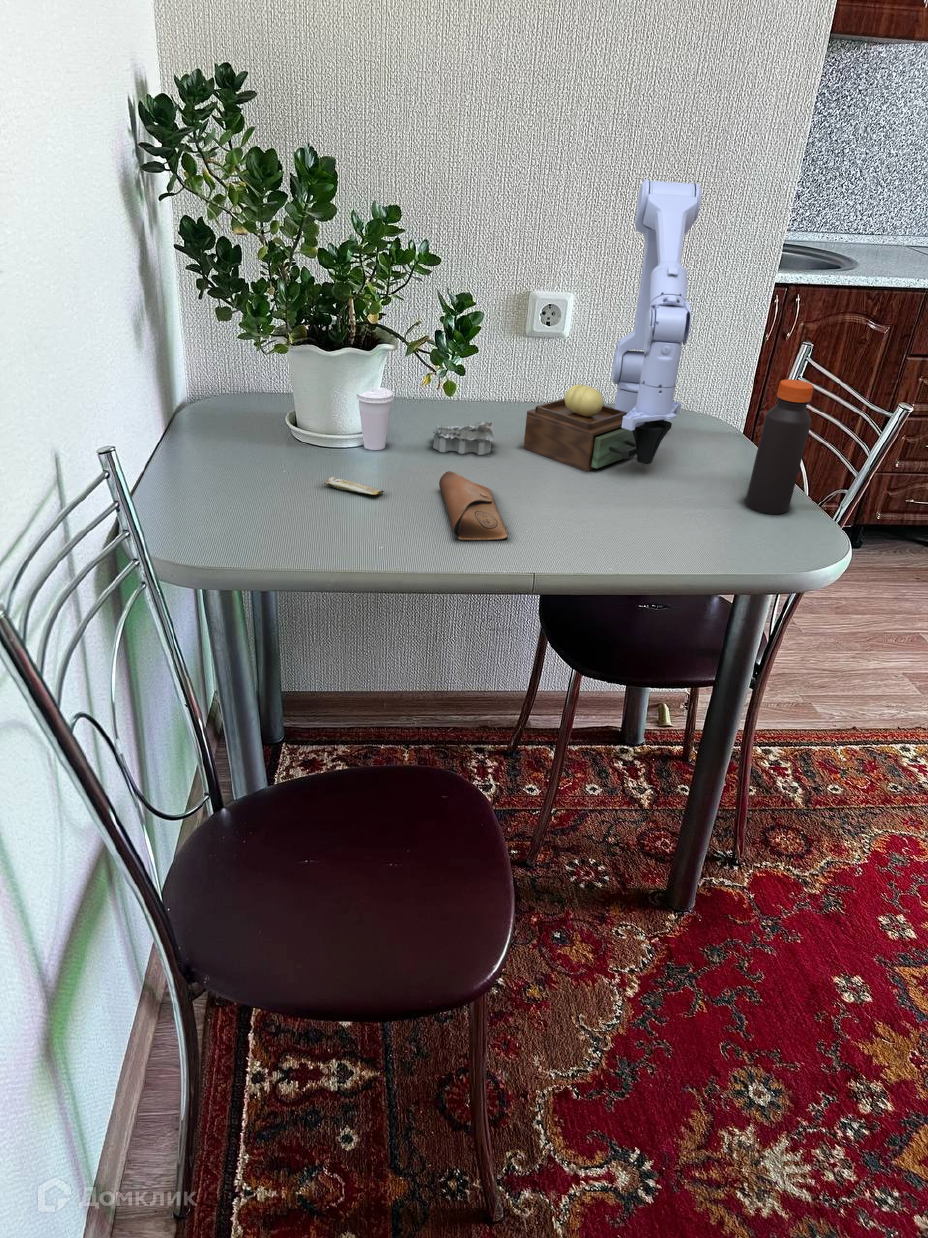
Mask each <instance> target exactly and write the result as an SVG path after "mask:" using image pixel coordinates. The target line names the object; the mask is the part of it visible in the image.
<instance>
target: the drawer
mask: <svg viewBox="0 0 928 1238" xmlns="http://www.w3.org/2000/svg"><path fill="white" fill-rule="evenodd" d="M635 456H637V453H636V444H635V438H634V435H633V432H632V431H630V430H627V429H624V428H622V427H619V428H616V429H613V430H610V431H607V432H604V433H601V434H598V435H595V436H594V441H593V448H592V456H591V461H592V465H591V467H594V468H595V469H599V468H602V467H605V466H607V465H610V464H612V463H615V462H618V461H620V460H623V459H624V460H627V459H630V458H632V457H635Z"/></svg>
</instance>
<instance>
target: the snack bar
mask: <svg viewBox="0 0 928 1238" xmlns="http://www.w3.org/2000/svg"><path fill="white" fill-rule="evenodd" d="M322 483H323V485H327V486H331V487H333V488H335V489H338V490H341V491H348V492H349V491H350V492H356V493H360V494H364V495H373V496H374V495H380V494H383V493H384V492H385V491H384V490H380V489H377V488H374V487H371V486H368V485H366V484H362V483H359V482H354V481H351V480H349V479H342V478H336V477H335V476H329V478H328V479H327V481H322Z"/></svg>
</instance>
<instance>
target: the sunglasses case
mask: <svg viewBox="0 0 928 1238" xmlns="http://www.w3.org/2000/svg"><path fill="white" fill-rule="evenodd" d="M438 485H439V492H440V493H441V496H442V499H443V503H444V507H445V509H446V513H447V516H448V520H449V524H450V527H451V528H450V529H451V530H452V532H453V534H454V536H455V537H456V538H457V539H458V540H459V541H468V542H469V541H470V542H487V541H498V540H499V541H501V540H505V539H507V538H508V537H509V535H508V532H507V529H506V526H505V524H504V522H503V519H502V517H501V514H500V512H499V509H498V507H497V505H496V502H495V499H494V496H493V492H492V490H491V488H489V487H488V486H484V485H482V484H479V483H476V482H473V481H472V480H470V479H468V478H466V477H464V476H463V475H461V474H458V473H456V472H453V471H452V470H451V471H450V470H448V471H446V472H444V473H443V474H442V476H440V478H439V482H438Z"/></svg>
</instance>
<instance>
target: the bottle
mask: <svg viewBox="0 0 928 1238" xmlns="http://www.w3.org/2000/svg"><path fill="white" fill-rule="evenodd" d="M814 387H815V386H814V385H813V384H812V383H810V382H807V381H804V380H801V379H794V378H793V379H792V378H791V379H789V378H787V379H781V380H780V381H779V385H778V389H777V393H776V400H777V402H776V405H774V406H773V407H771V408H770V409H769V410H768V411H767V412H766V413H765V416H764V420H763V424H762V429H761V432H760V437H759V442H758V446H757V450H756V455H755V458H754V462H753V467H752V472H751V476H750V481H749V485H748V489H747V492H746V497H745V504H746V505H747V506H748V507H749V508H750V509H751V510H754V511H756V512H759V513H763V514H768V515H781V514H784V513H786V512H787V511H788V510H789V508H790V506H791V502H792V498H793V493H794V490H795V485H796V483H797V479H798V475H799V471H800V467H801V465H802V460H803V456H804V452H805V449H806V444H807V441H808V436H809V433H810V430H811V425H812V421H813V420H812V417H811V415H810V413H809V412H808V409H807V407H808V405H809V404H810V401H811V399H812V396H813V391H814Z"/></svg>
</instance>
